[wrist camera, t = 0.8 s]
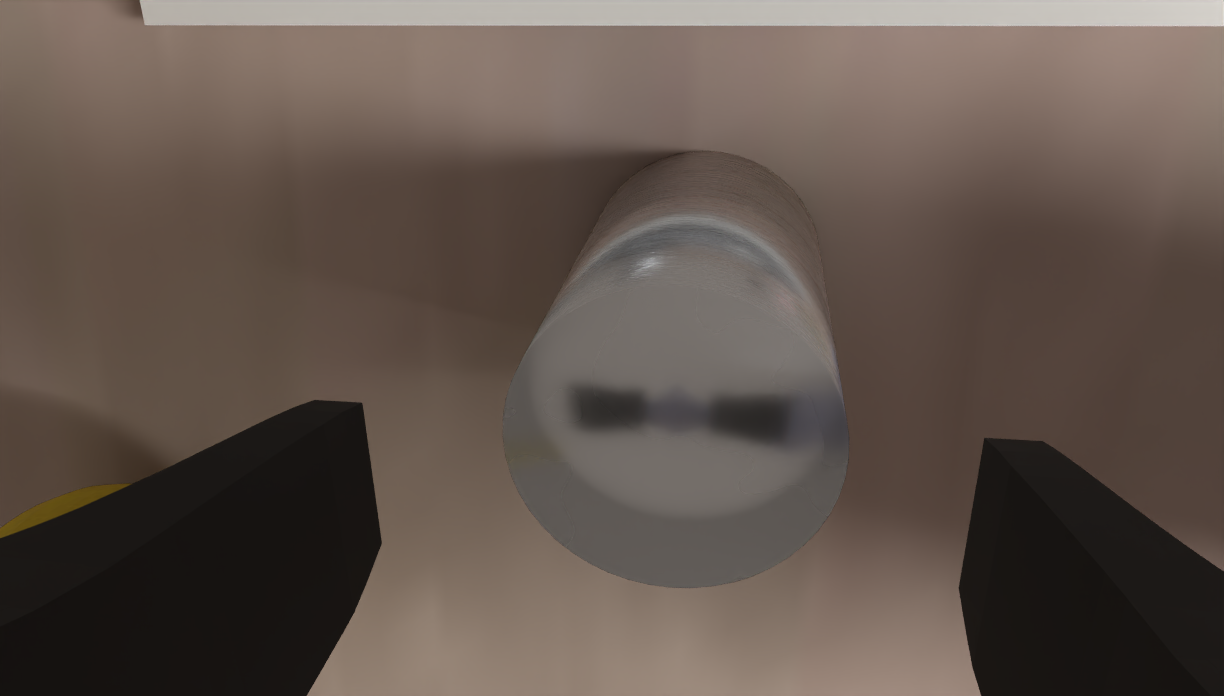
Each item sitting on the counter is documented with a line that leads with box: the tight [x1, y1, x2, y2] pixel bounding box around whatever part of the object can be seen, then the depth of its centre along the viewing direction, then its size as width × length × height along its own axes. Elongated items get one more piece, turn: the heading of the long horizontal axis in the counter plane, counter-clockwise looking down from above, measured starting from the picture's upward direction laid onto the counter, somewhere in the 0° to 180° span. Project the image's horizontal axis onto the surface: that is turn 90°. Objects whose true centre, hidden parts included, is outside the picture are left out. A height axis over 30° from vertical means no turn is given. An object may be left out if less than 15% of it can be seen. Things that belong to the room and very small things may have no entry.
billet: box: [503, 151, 849, 588], centre depth 15 cm, size 4×4×7 cm
